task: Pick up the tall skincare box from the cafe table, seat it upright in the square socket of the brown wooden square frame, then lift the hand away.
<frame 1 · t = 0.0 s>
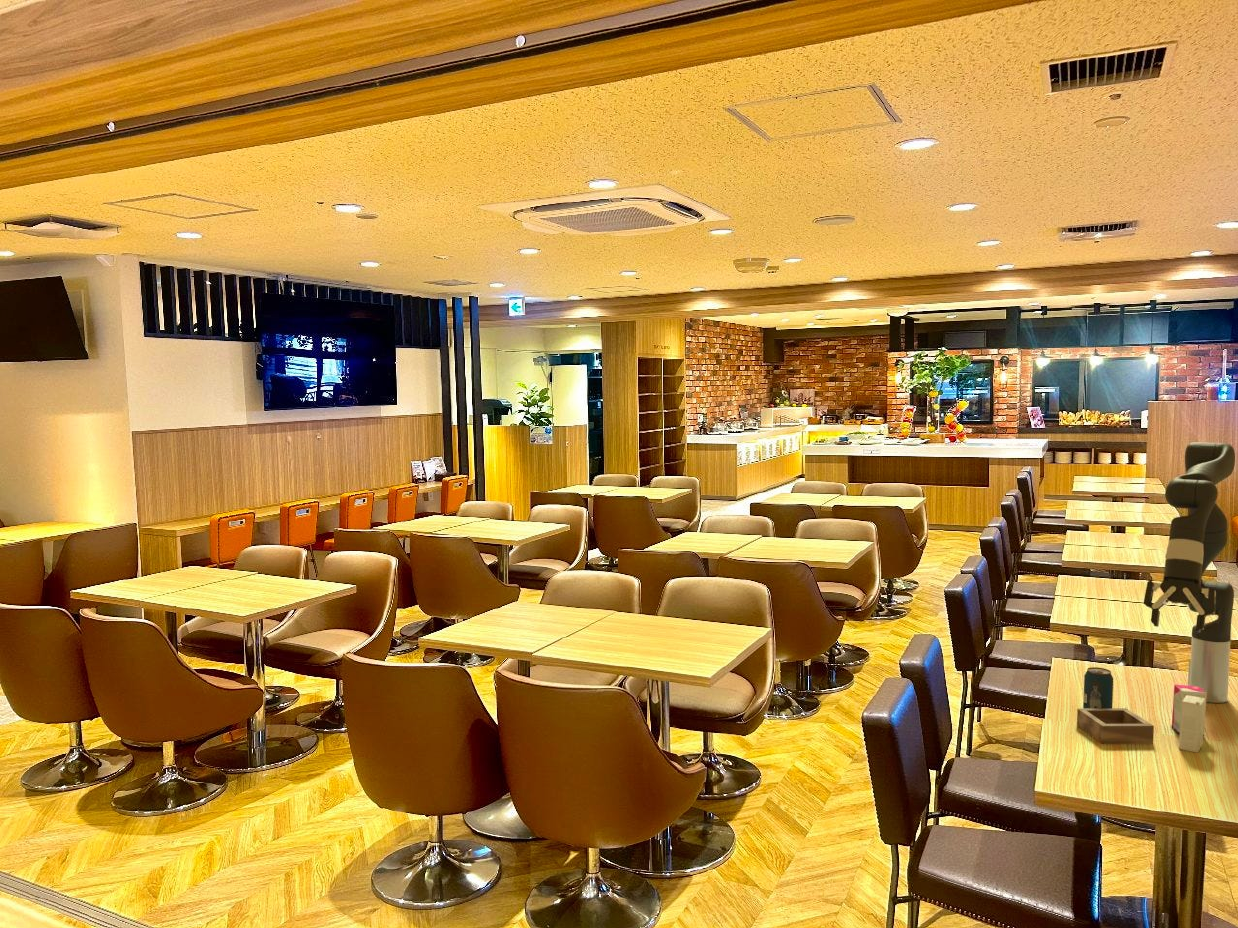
hand: (1176, 628, 217), 31 cm above the table, tool tilted 20°, fingers open, 8 cm apart
supplement box: (1187, 732, 237), on the table
skincare box: (1190, 748, 227), on the table
soda can: (1097, 714, 250), on the table
brown wooden square frame: (1113, 734, 236), on the table
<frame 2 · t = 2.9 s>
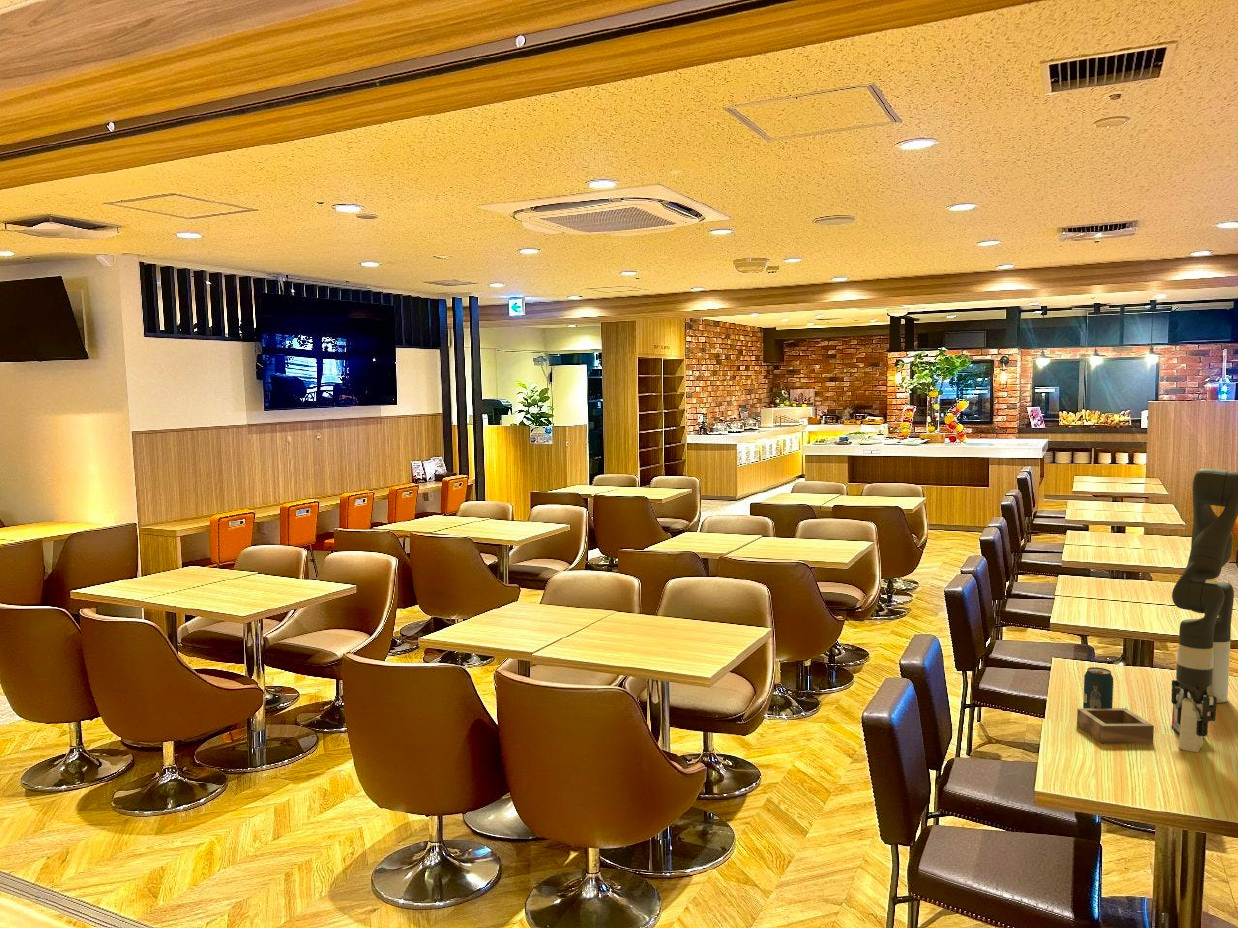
hand: (1191, 729, 227), 4 cm above the table, tool pointing down, fingers closed on skincare box, 7 cm apart
skincare box: (1191, 748, 227), on the table, touching gripper
everything else where it was.
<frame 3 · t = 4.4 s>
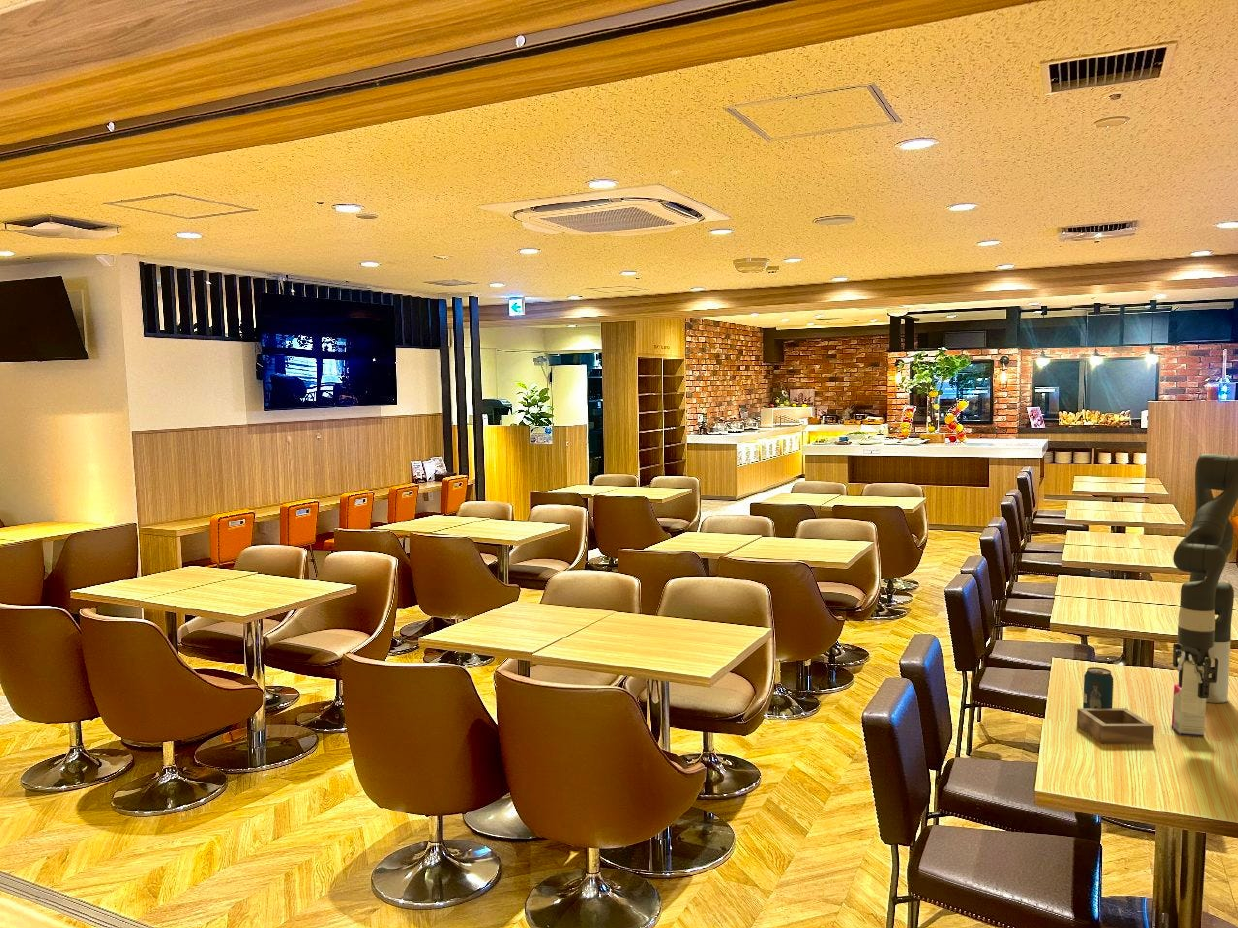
hand: (1193, 692, 226), 14 cm above the table, tool pointing down, fingers closed on skincare box, 7 cm apart
skincare box: (1192, 711, 226), point 9 cm above the table, touching gripper
everything else where it was.
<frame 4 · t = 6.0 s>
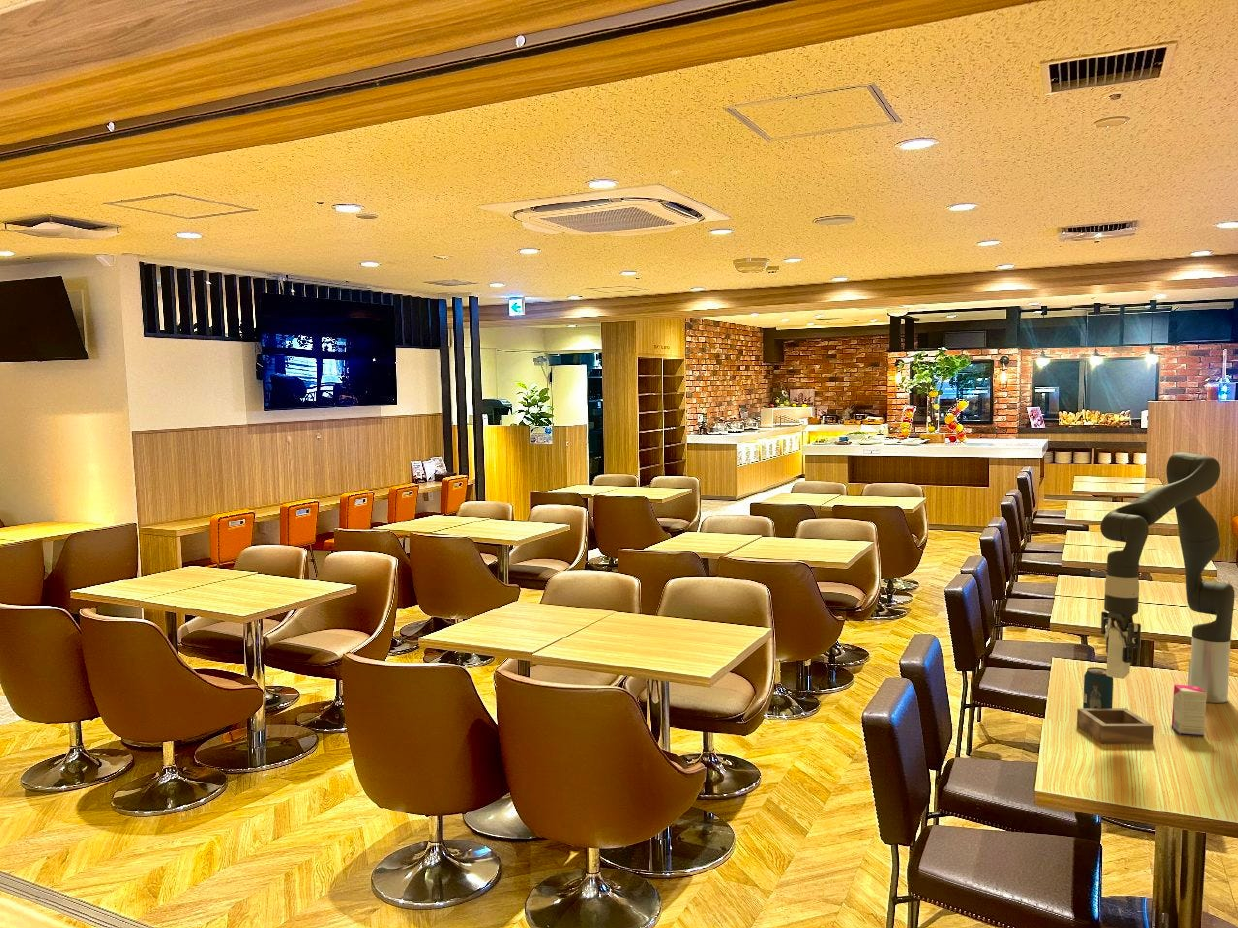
hand: (1118, 657, 234), 20 cm above the table, tool pointing down, fingers closed on skincare box, 7 cm apart
skincare box: (1118, 675, 234), point 15 cm above the table, touching gripper
everything else where it was.
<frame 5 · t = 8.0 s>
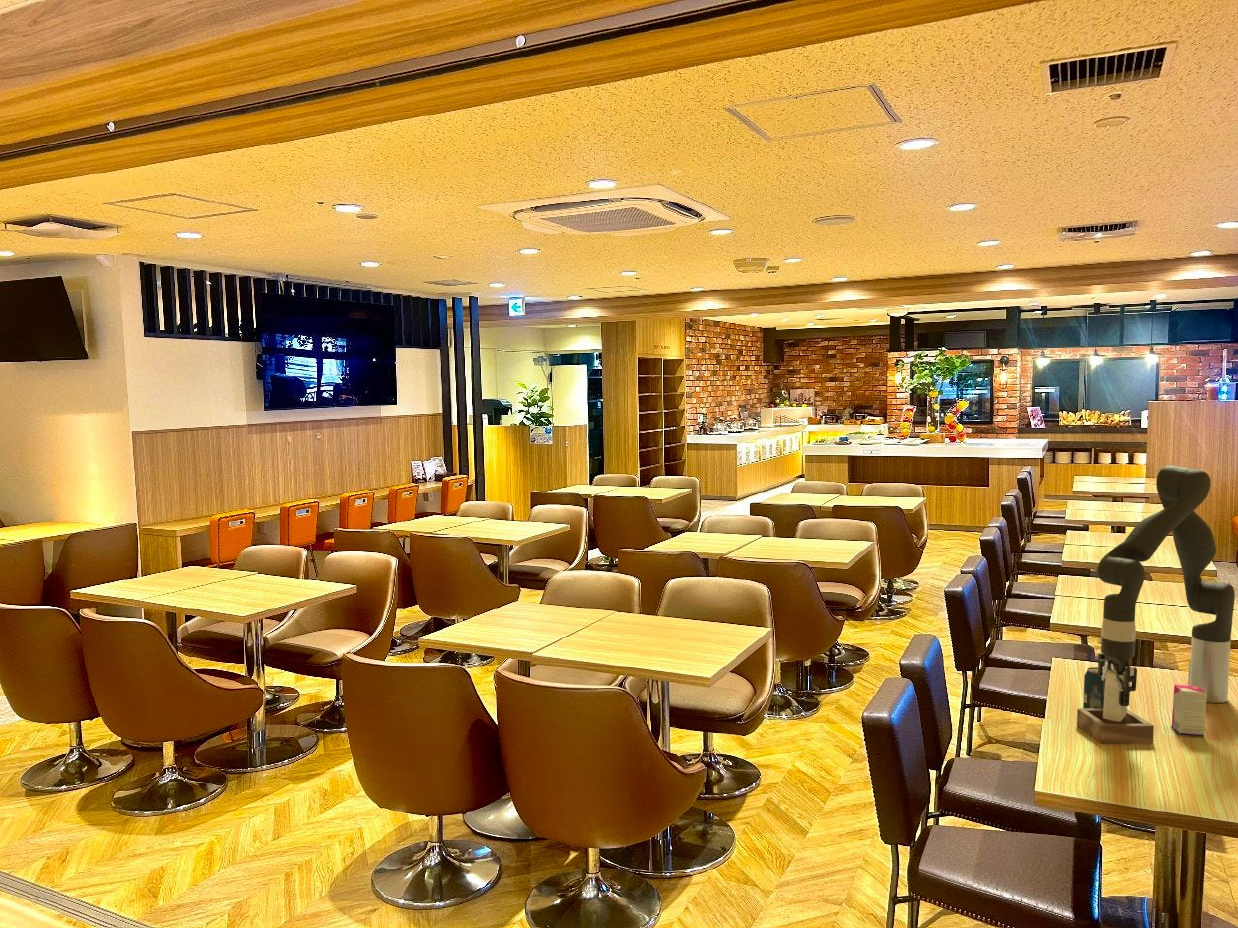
hand: (1115, 700, 235), 9 cm above the table, tool pointing down, fingers closed on skincare box, 7 cm apart
skincare box: (1114, 718, 235), point 4 cm above the table, touching gripper
everything else where it was.
when the fingers open (6 cm above the table, at t = 9.3 s): skincare box drops 1 cm, resting in brown wooden square frame.
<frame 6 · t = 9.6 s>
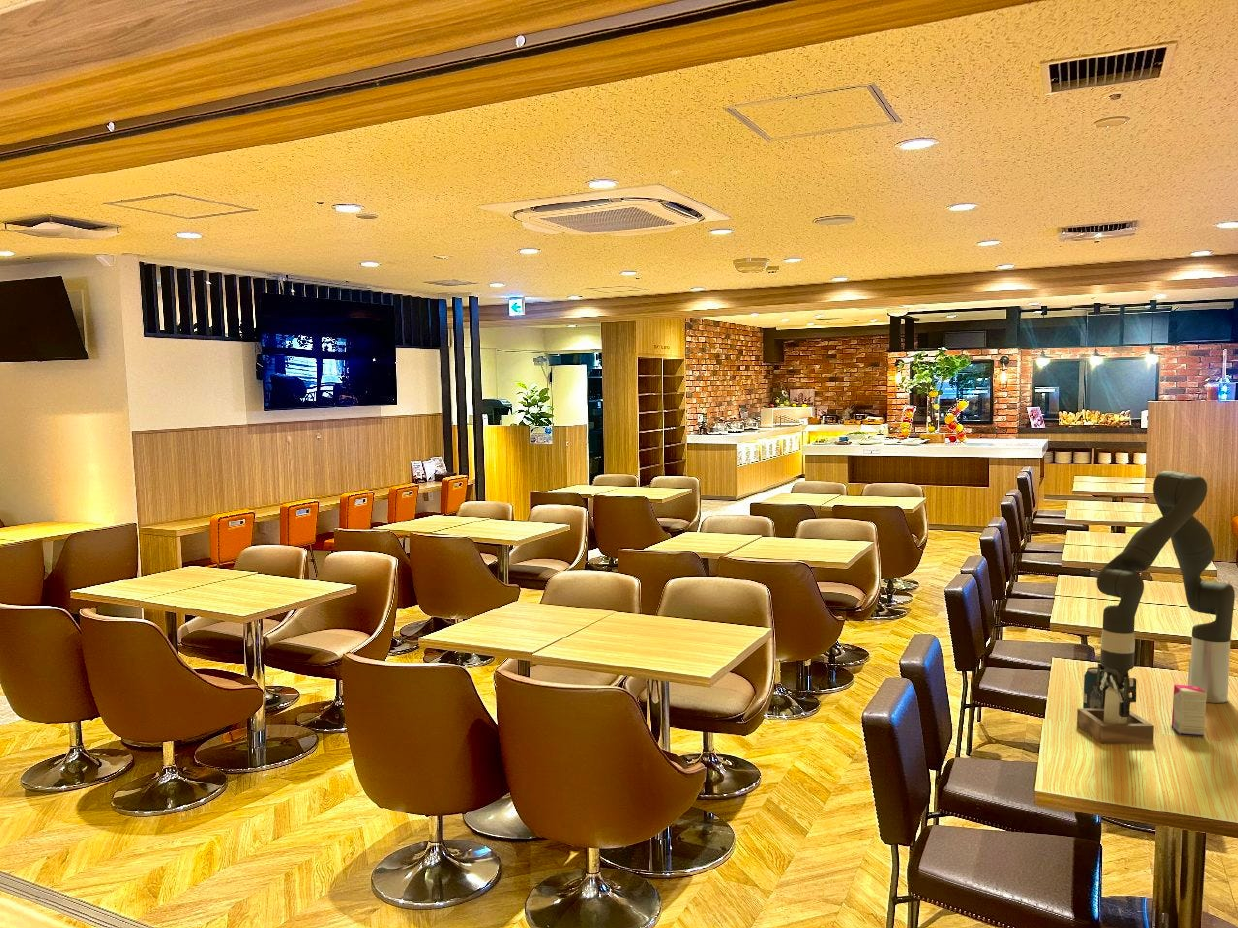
hand: (1114, 710, 235), 6 cm above the table, tool pointing down, fingers open, 8 cm apart
skincare box: (1114, 735, 236), resting in brown wooden square frame
everything else where it was.
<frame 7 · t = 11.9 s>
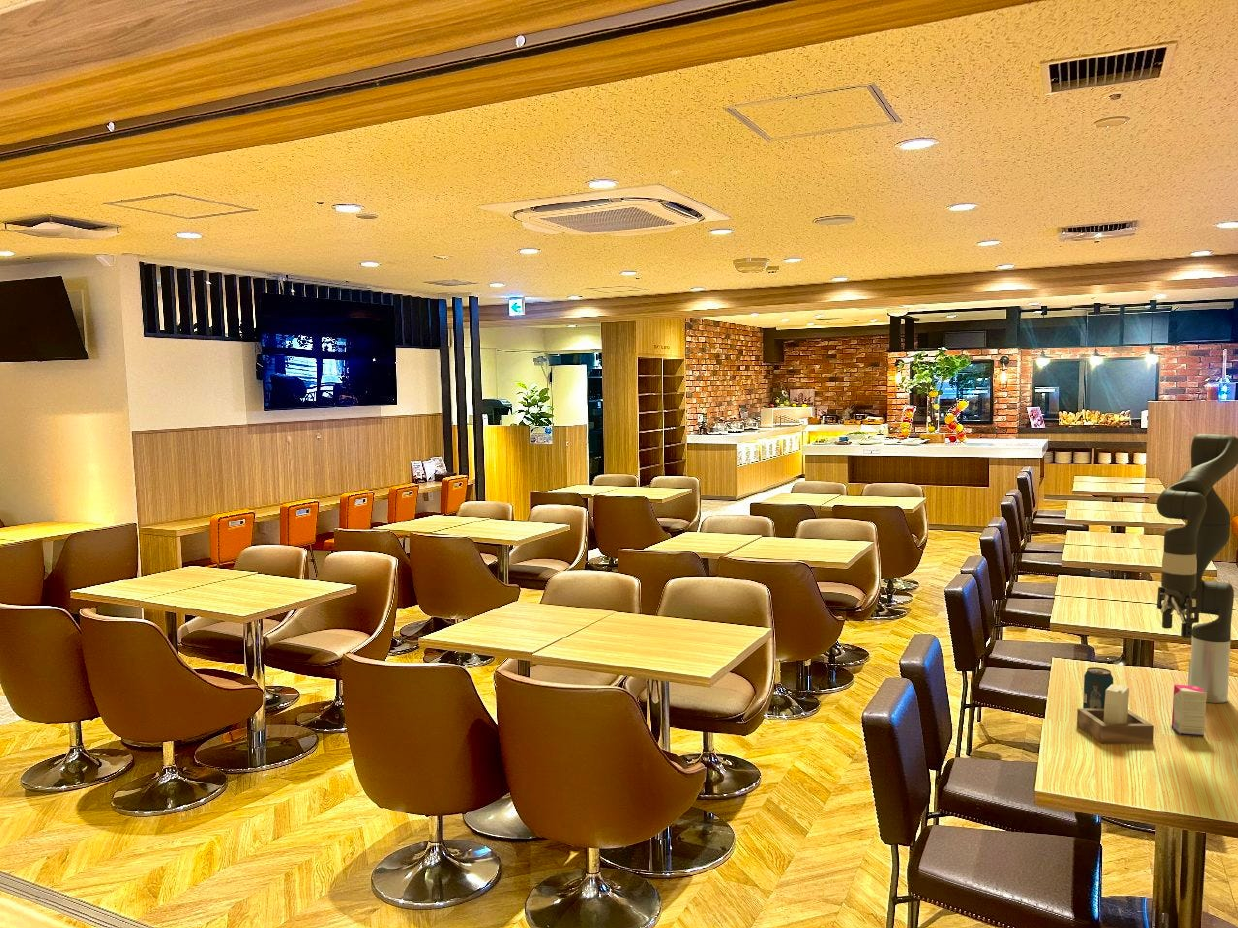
hand: (1176, 632, 236), 25 cm above the table, tool pointing down, fingers open, 8 cm apart
nothing on the table moved.
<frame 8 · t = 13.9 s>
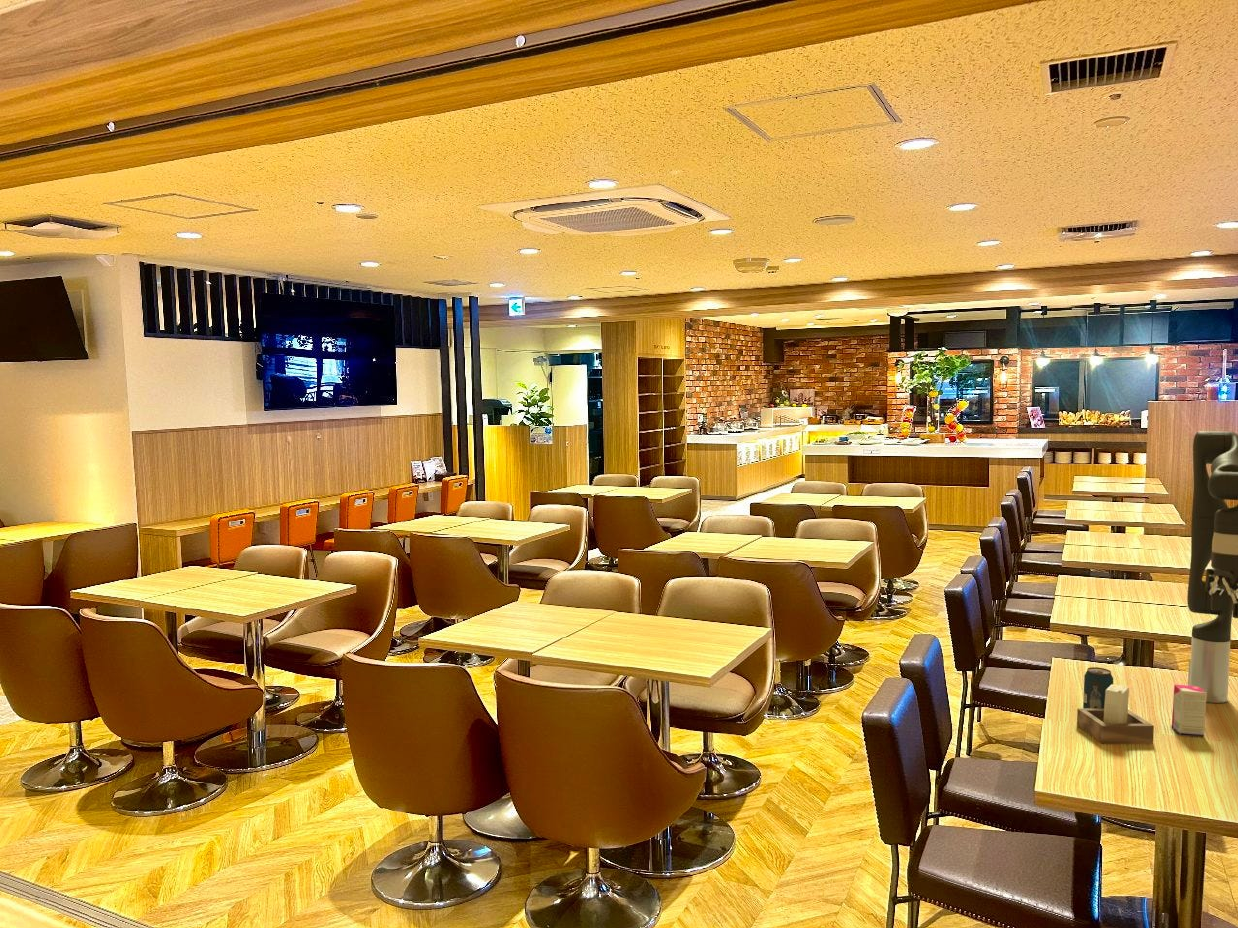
hand: (1226, 613, 236), 30 cm above the table, tool pointing down, fingers open, 8 cm apart
nothing on the table moved.
at the end: skincare box 0.3 cm off-centre on the brown wooden square frame, point 0.0 cm above the brown wooden square frame's base; skincare box tilted 0°; the gripper is holding nothing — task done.
